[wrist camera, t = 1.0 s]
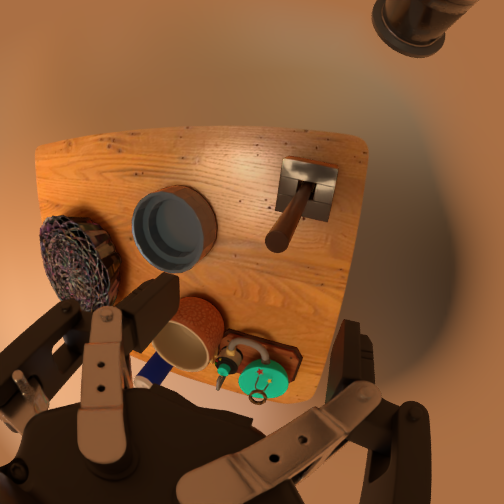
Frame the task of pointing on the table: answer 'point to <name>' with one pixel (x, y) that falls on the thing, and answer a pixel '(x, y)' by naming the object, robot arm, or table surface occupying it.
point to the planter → (191, 335)
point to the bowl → (173, 228)
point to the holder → (311, 172)
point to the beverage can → (152, 372)
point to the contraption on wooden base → (256, 364)
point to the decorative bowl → (80, 261)
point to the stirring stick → (288, 220)
